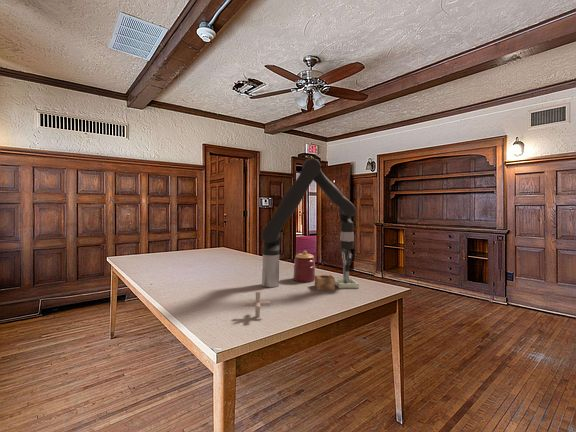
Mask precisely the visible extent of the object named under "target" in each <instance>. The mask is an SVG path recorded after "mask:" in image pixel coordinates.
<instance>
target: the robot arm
mask: <svg viewBox="0 0 576 432" xmlns="http://www.w3.org/2000/svg"><path fill="white" fill-rule="evenodd" d="M301 167H302V168H301V169H302V170H301V171H300V174H299V175H298V177H297V179H296V180H295V181H294V183H292V185H291V186H290V187H289V188H288V189H287V191H286V192H285V193H284V195H283V197H282V199H281V201H280V202H279V204H278V206H277V209H276V210H275V211H274V214H273V216H272V217H271V219H270V220H269V221H268V222H267V224H266V225H265V226H264V228H263V229H262V232H261V238H262V240H263V247H262V266H261V267H262V269H261V286H262V287H265V288H276V287H279V286H280V251H281V236H282V235H281V231H282V229H283V227H284V225H285V223H286V222H287V221H288V220H289V219H290V218H291V216H292V215H293V214H294V213H295V211H296V209H298V206H300V203H301V202H302V200H303V198H304V197H305V194H306V192H307V191H308V189H309V187H310V185H311V184H312V182H313V181H314V182H315V183H316V184H317V185H318V187H319V189H321V190H322V191H323V193H324V194H325V195H326V196H327V197H328V199H329V200H330V201H331V202H332V203H333V205H334V206H337V207H338V208H339V212H338V213H339V220H340V234H339V235H340V236H339V237H340V238H339V248H340V249H342V250H341V251H340V254H341V255H340V256H341V262H342V266H343V265H344V260H345V271H349V272H350V267H351V265H352V262H353V256H354V255H353V254H352V251H351V250H353V249H354V247H355V245H354V244H355V234H354V233H355V232H354V231H355V227H354V226H355V224H354V222H353V221H352V217H354V216H355V215H357V214H356V213H357V207H356V206H355V205H354V204H353V202H351V201H350V199H348V198H347V197H346V196H344V194H343V193H342V192H341V190H340V189H339V188H338V187H337V186H336V185H335V184H334V183H333V182H332V181H331V180H330V179H329V178H328V177H327V176H326V175H325V173H324V172H323V171H322V169H321V168H322V164H321V162H320V161H319V160H318V159H316V158H307V159H305V160H304V161H303V162H302V166H301ZM346 258H347V259H346ZM348 261H349V262H348Z"/></svg>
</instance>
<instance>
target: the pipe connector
mask: <svg viewBox="0 0 576 432" xmlns="http://www.w3.org/2000/svg"><path fill="white" fill-rule="evenodd" d="M271 303H272V302H271V301H261V291H260V290H256V291H255V301H245V302H244V306H245V307H254V308H255V309H254V310H255V312H254V313H255V318H261V307H271Z"/></svg>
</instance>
